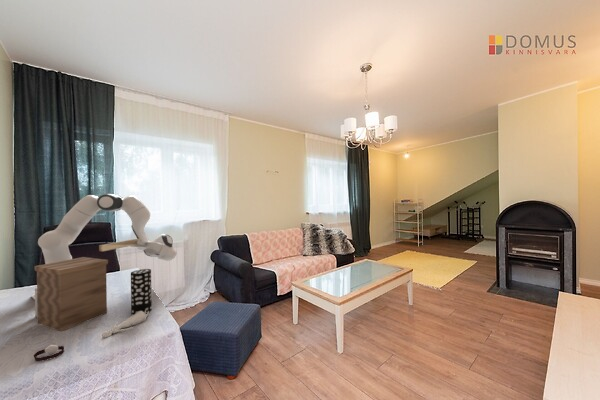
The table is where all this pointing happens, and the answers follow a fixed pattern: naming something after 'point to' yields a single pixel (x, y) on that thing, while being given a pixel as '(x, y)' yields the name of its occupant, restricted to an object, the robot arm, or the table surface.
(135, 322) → the woman figurine
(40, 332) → the table surface
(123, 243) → the rod
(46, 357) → the watch
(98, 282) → the stand
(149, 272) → the white-spotted black cylinder
